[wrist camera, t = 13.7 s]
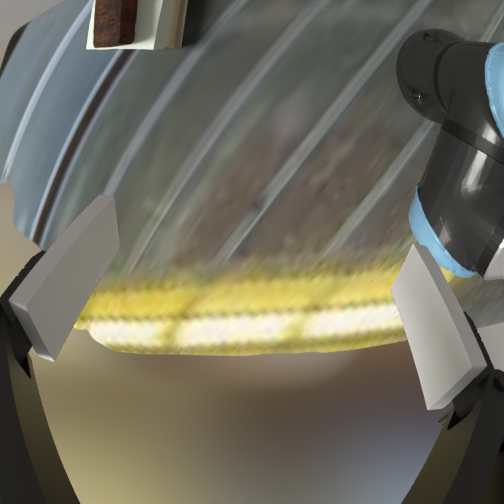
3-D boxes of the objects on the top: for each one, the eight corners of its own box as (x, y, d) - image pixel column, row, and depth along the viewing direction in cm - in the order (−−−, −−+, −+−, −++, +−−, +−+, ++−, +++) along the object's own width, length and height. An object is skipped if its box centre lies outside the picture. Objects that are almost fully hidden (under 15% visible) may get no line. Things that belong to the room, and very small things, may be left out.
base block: (193, -25, 30) (186, -31, 26) (182, 47, 37) (174, 46, 33) (118, -19, 29) (106, -23, 26) (109, 49, 36) (97, 49, 33)
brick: (137, 44, 30) (120, 43, 26) (109, 47, 30) (91, 48, 26) (142, -29, 24) (126, -37, 20) (114, -24, 24) (96, -30, 20)
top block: (180, -29, 27) (171, -36, 23) (163, 49, 34) (153, 49, 30) (114, -25, 26) (101, -30, 23) (100, 48, 33) (86, 49, 30)
